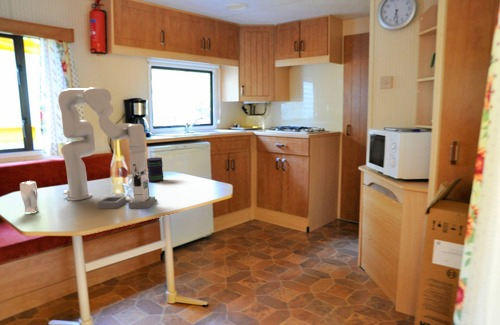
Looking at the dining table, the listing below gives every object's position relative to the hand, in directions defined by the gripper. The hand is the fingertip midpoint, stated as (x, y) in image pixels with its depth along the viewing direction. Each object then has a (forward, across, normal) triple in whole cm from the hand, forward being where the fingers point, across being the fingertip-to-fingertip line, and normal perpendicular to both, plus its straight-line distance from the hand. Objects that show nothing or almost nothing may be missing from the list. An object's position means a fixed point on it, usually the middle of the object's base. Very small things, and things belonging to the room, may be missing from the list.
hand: (140, 184), depth 178 cm
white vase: (+11, +12, -51) cm, 53 cm away
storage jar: (+11, -53, -12) cm, 55 cm away
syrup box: (+10, 0, 0) cm, 10 cm away
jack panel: (+11, -1, -8) cm, 13 cm away
